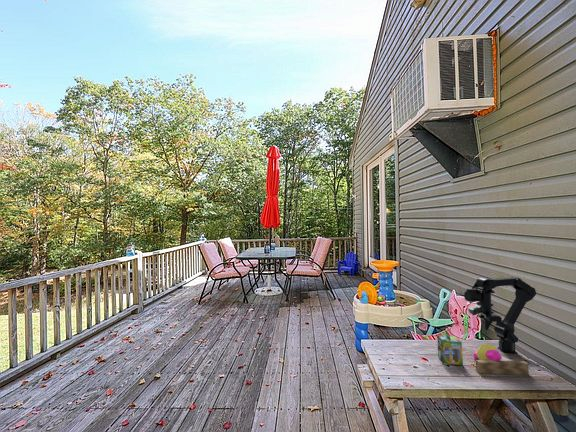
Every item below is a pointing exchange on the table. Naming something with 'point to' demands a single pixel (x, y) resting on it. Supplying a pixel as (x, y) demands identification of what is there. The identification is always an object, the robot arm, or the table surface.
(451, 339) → the chalk box
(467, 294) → the robot arm
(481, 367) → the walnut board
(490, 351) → the toy
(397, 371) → the table surface
